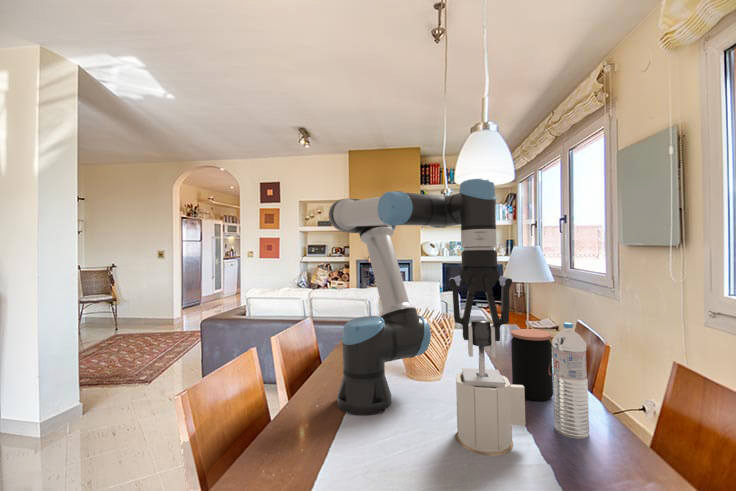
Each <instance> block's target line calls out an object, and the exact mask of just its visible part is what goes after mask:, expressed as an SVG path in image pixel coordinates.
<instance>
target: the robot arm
mask: <svg viewBox="0 0 736 491" xmlns="http://www.w3.org/2000/svg"><path fill="white" fill-rule="evenodd" d="M495 188H496V187H495V183H494V181H493V180H491V179H488V178H471V179H466V180H464V181H462V182H461V183H460V185H459V190H458V193H454V194H450V195H440V194H439V195H437V194H426V193H425V194H424V193H412V192H405V191H404V192H403V191H400V190H398V191H396V190H395V191H386V192H384V193H383V194H382V195H381V196H376V197H370V198H363V199H362V198H342V199H338V200H336V201H334V202H333V203H332V205H331V206H330V207H329V209H328V219H329V222H330V224H331V226H332V227H333V228H335V229H336V230H338V231H339V232H343V233H347V234H358V235H359V238H360V241H361V242H362V243H363V244H365V245H366V247H367V253H368V256H369V260H370V264H371V268H372V272H373V276H374V281H375V285H376V288H377V289H376V290H377V292H378V296H379V301H380V304H381V305H380V306H381V308H382V312H381V314H380V315H369V316H359V317H356V318H352V319H350V320H348V321H346V323H345V324H344V325H343V327H342V339H341V342H342V372H343V374H342V379H341V382H340V384H339V385H340V386H339V389H338V393H337V399H336V400H337V403H336V404H337V407H338V409H339V410H341V411H342V412H344V413H347V414H351V415H354V416H355V415H356V416H369V415H370V414H371V415H376V414H379V413H383V412H385V410H386V409H388V408H389V407H390V406H391V404H392V393H391V389H390V386H389V383H388V380H387V378H386V372H385V365H386V364H385V363H388V362H392V361H398V360H403V359H411V358H414V357H417V356H421V355H423V354H425V352H427V350H428V349H429V346H430V343H431V338H432V332H431V326H430V324H429V322H428V320H427V319H426V318H425V317H424V316H422V315H418V312H417V308H416V307H415V306H414V305H412V304H410V301H409V298H408V295H407V291H406V287H405V283H404V280H403V276H402V273H401V272H402V271H401V269H400V265H399V262H398V259H397V255H396V252H395V248H394V245H393V244H394V243H393V241H392V237H393V235H394V233H395V232H394V231H395V229H396V227H397V226H420V227H432V228H435V229H436V228H437V229H438V228H442V229H445V228H447V227H453V226H460V242H461V244H460V247H461V248H462V249H463V250H462V251H461V271H460V273H459V274H458V275H457V276H455V277H450V278H449V279H448V282H449V285H450V286H451V289H452V290H451V291H452V306H453V307H452V308H453V318H454V322H455V323H457V324H460V325H461V326H462V338H463V341H467V350H468V352H467V353H468V356H469V357H472V358H473V357H474V345H473V338H472V326H471V323H470V321H471V320H470V319H471V313H472V307H473V302H474V297H475V295H476V292H485V293H484V294H485V297H486V300H487V304H488V308H489V313H490V318H491V320H492V321H491V322H492V324H490V330H491V345H490V346H489V354H490V357H491V358H494V359H496V357H497V356H496V342H500V340H501V326H502V325H508V324H509V322H510V289H511V287H512V284H513V279H512V278H510V277H507V276H506V277H505V276H502V275H501V274H500V272H499V270H498V251H497V250H495V248H497V246H498V244H497V242H498V241H497V225H496V224H497V222H496V221H497V220H496V219H497V217H496V216H497V210H496V209H497V205H496V204H497V202H496V201H497V197H496V189H495ZM461 281H462V282H463V283H464V284H465V286H466V287H467V291H466V292H467V295H466V300H465V305H464V309H463V314H462V317H461V312H460V296H459V287H460V285H461ZM498 281H499V285H500V286H501V289H500V290H501V293H500V294H501V296H500V304H501V305H500V317H499V312H498V309H497V305H496V301H495V297H494V291H493V288H494V287H495V285H496V283H498ZM371 415H370V416H371Z"/></svg>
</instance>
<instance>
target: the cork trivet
mask: <svg viewBox="0 0 736 491" xmlns="http://www.w3.org/2000/svg"><path fill="white" fill-rule="evenodd" d="M455 440H456V441H457V443H458V445H459V446H461V447H462V448H464V449H466V450H467V451H470V452H472V453H474V454H479V455H482V456H502V455H505V454H509V453H510V452H511V451H512V450H513V449H514V441H513V440H512V443H511V446H510V448H509V449H508V450H507V451H505V452H502V453H497V454H486V453H480V452H477V451H474V450H471V449H469V448H467V447H465V446H464V445H463V444H462V443H461V442H460V441H459V439H458V430H456V432H455Z"/></svg>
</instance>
